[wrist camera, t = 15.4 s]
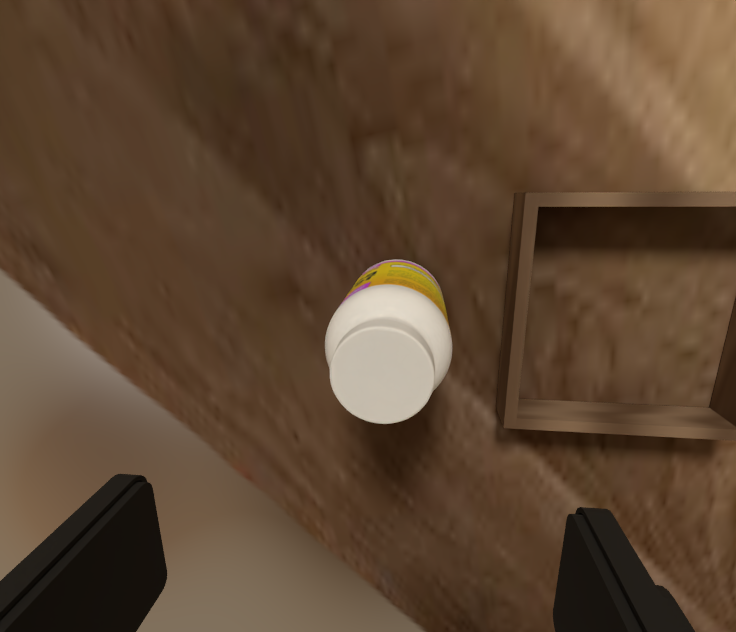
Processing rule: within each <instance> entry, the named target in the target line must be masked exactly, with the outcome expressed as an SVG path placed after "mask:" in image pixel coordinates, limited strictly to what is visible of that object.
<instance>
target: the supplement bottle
mask: <svg viewBox="0 0 736 632" xmlns="http://www.w3.org/2000/svg"><path fill="white" fill-rule="evenodd" d="M325 352H326V358H327V362H328V365H329V368H330V381H331V386H332V389H333V391H334V394H335V395H336V397H337V399H338V400H339V402H340V403H341V404H342V405H343V406H344V407H345V408H346V409H347V410H348V411H349V412H350V413H352V414H353V415H355V416H356V417H358V418H360V419H363V420H365V421H368V422H372V423H378V424H391V423H397V422H401V421H403V420H406V419H408V418H410V417H412V416H413V415H415V414H416V413H418V412H419V411H420V410H421V409H422V408H423V407H424V406H425V404H426V403H427V402H428V400H429V398H430V396H431V394H432V392H433V391H434V390H435V389H436V388H437V387H438V386H439V384H440V383H441V382H442V380H443V379H444V377H445V375H446V373H447V371H448V368H449V365H450V362H451V357H452V339H451V332H450V328H449V324H448V319H447V314H446V309H445V304H444V299H443V295H442V292H441V289H440V287H439V285H438V283H437V281H436V280H435V278H434V277H433V276H432V275H431V274H430V273H429V272H428V271H427V270H426V269H424V268H423V267H421V266H420V265H418V264H416V263H413V262H410V261H406V260H387V261H383V262H380V263H378V264H376V265H374V266H372V267H370V268H369V269H368V270H366V271H365V272H364V273H363V274H362V275H361V276H360V278H359V279H358V280H357V282H356V283H355V284H354V286H353V287H352V288H351V290H350V292H349V293H348V294H347V296H346V297H345V299H344V300H343V302H342V303H341V305H340V306H339V308H338V309H337V310H336V312H335V314H334V315H333V317H332V319H331V321H330V323H329V326H328V329H327V333H326V338H325Z"/></svg>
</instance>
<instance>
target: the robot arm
mask: <svg viewBox="0 0 736 632" xmlns="http://www.w3.org/2000/svg"><path fill="white" fill-rule="evenodd" d="M166 580H167V569H166V563H165V557H164V551H163V545H162V540H161V534H160V528H159V522H158V517H157V511H156V505H155V499H154V493H153V488H152V485H151V484H150V483H147V480H146V478H145V477H144V476H141V475H128V474H118V475H115V476H114V477H112V478H111V479H110V480H109V481H108V482H107V483H106V484H105V485H104V486H102V487H101V488H100V489H99V490H98V491H97V492H96V493H95V494H94V495H93V496H92V497H91V498H89V499H88V500H87V501H86V502H85V503H84V504H83V505H82V506H81V507H80V508H79V509H78V510H77V511H75V512H74V513H73V514H72V515H71V516H70V517H69V518H68V519H67V520H66V521H65V522H64V523H62V524H61V525H60V526H59V527H58V528H57V529H56V530H55V531H54V532H53V533H52V534H51V535H50V536H48V537H47V538H46V539H45V540H44V541H43V542H42V543H41V544H40V545H39V546H38V547H37V548H35V550H33V551H32V552H31V553H30V554H29V555H28V556H27V557H26V558H25V559H24V560H23V561H21V563H19V564H18V565H17V566H16V567H15V568H14V569H13V570H12V571H11V572H10V573H9V574H7V575H6V576H5V577H4V578H3V579H2V580H1V581H0V632H136V631H137V629H138V628H139V626H140V625H141V623H142V622H143V620H144V619H145V617H146V615H147V614H148V612H149V611H150V609H151V608H152V606H153V605H154V603H155V602H156V600H157V598H158V597H159V595H160V594H161V592H162V590H163V589H164V586H165V583H166ZM553 621H554V628H555V632H695V631H694V629H693V628H692V626H691V624H690V623H689V621H688V620H687V618H686V616H685V615H684V613H683V612H682V610H681V609H680V607H679V605H678V604H677V602H676V601H675V599H674V598H673V596H672V595H671V594H670V592H669V591H668V590H667V589H665V588H664V587H663V586H659V585H655V584H654V582H653V580H652V579H651V577H650V575H649V574H648V572H647V570H646V569H645V567H644V565H643V564H642V562H641V560H640V559H639V557H638V555H637V554H636V552H635V551H634V549H633V547H632V546H631V544H630V542H629V541H628V539H627V537H626V536H625V534H624V532H623V531H622V529H621V527H620V526H619V524H618V522H617V521H616V519H615V517H614V516H613V514H612V513H611V512H610V511H609V510H608V509H598V508H584V507H579V508H578V509H577V510H576V513H575V514H569V515H568V516H567V521H566V528H565V535H564V541H563V548H562V555H561V561H560V568H559V575H558V581H557V588H556V595H555V602H554V608H553Z"/></svg>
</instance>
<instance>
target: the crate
mask: <svg viewBox="0 0 736 632" xmlns="http://www.w3.org/2000/svg"><path fill="white" fill-rule="evenodd" d="M729 206H736V192H573V193H515V194H514V205H513V217H512V228H511V240H510V251H509V263H508V274H507V286H506V297H505V308H504V320H503V331H502V343H501V354H500V366H499V377H498V388H497V400H496V409H497V412H498V414H499V417H500V420H501V423H502V425H503V428H510V429H529V430H547V431H566V432H584V433H602V434H621V435H639V436H658V437H676V438H694V439H713V440H731V441H736V300H735V304H734V308H733V312H732V316H731V320H730V324H729V329H728V333H727V337H726V341H725V345H724V349H723V353H722V358H721V362H720V366H719V370H718V374H717V378H716V382H715V387H714V391H713V395H712V399H711V403H710V407H709V408H706V407H685V406H664V405H642V404H621V403H600V402H578V401H557V400H536V399H519V390H520V380H521V370H522V360H523V351H524V341H525V331H526V322H527V312H528V302H529V293H530V283H531V273H532V264H533V254H534V244H535V234H536V225H537V215H538V207H729Z"/></svg>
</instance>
